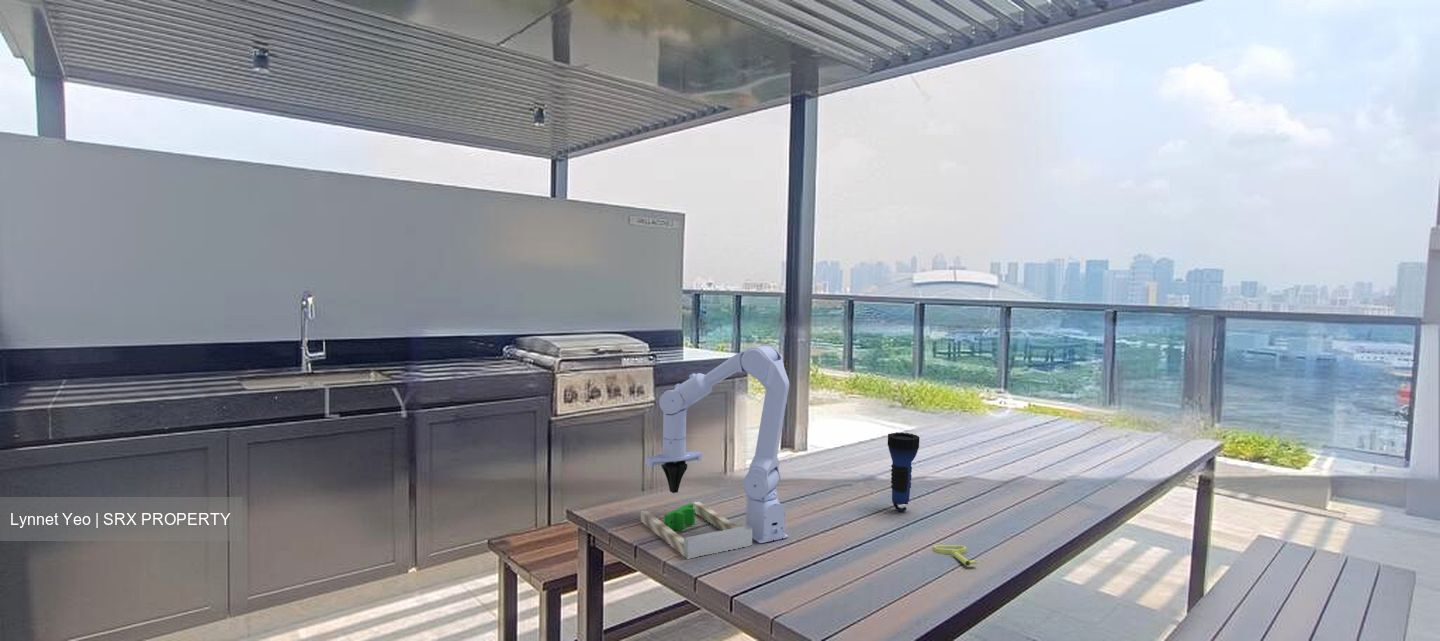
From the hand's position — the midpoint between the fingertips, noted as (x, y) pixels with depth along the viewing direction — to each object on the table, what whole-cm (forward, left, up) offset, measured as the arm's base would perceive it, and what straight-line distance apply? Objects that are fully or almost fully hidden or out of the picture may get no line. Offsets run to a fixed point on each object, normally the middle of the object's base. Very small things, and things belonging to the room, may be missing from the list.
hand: (673, 491), depth 160 cm
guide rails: (-10, 0, -7) cm, 12 cm away
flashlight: (-23, -55, -7) cm, 60 cm away
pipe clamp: (-6, 0, -7) cm, 9 cm away
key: (-49, -44, -8) cm, 67 cm away
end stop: (-23, 0, -7) cm, 24 cm away
